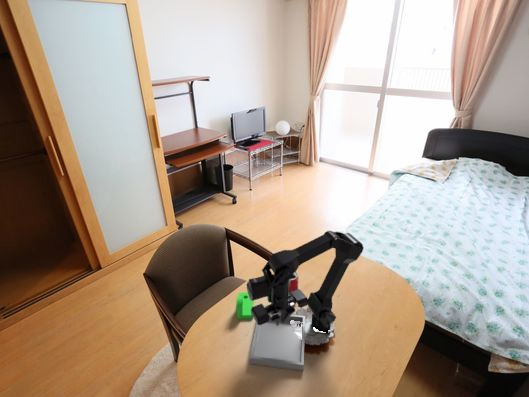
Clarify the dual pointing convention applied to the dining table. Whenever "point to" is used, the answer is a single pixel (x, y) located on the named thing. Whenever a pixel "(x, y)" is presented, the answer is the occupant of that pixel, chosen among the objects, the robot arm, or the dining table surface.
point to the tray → (278, 345)
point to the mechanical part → (244, 306)
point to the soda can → (293, 283)
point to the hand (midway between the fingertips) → (279, 323)
